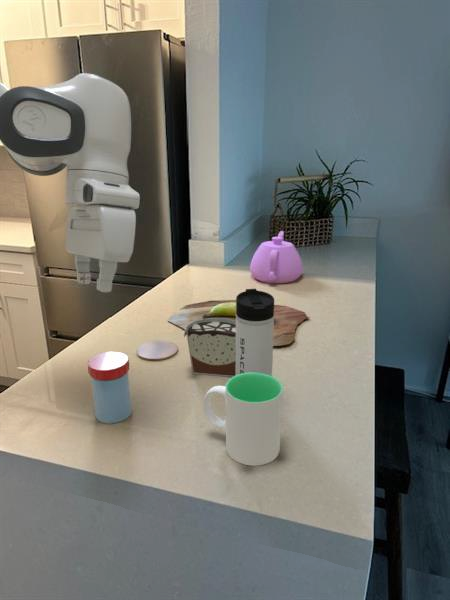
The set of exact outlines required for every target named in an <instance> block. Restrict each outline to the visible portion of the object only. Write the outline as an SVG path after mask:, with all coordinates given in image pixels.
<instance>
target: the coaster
mask: <svg viewBox="0 0 450 600" xmlns="http://www.w3.org/2000/svg"><path fill="white" fill-rule="evenodd" d="M178 352H179V347H178V345H177V344H176V343H174V342H172V341H170V340H152V341H151V340H150V341H147V342H144V343H142V344H140V345H139V346H138V347H137V349H136V355H137V357H138V358H140V359H142V360H144V361H149V362H160V361H165V360H168V359H171V358H173V357H174V356H176V355H177V354H178Z"/></svg>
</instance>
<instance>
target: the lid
mask: <svg viewBox="0 0 450 600" xmlns="http://www.w3.org/2000/svg"><path fill="white" fill-rule="evenodd" d="M87 371H88V374H89V377H90V378H91V377H92V378H94V379H97V380H112V379H116V378H119V377H121V376H123V375H125V374H126V373H127V372H128V373H129V371H130V360H129V357H128V355H127V354H126V353H123V352H120V351H106V352H100V353H98V354H95V355H94V356H92V357H91V358H90V359H89V360H88V361H87Z"/></svg>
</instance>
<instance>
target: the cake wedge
mask: <svg viewBox="0 0 450 600" xmlns="http://www.w3.org/2000/svg"><path fill="white" fill-rule="evenodd" d="M183 337H184V338H185V337H186V340H187V345H188V346H187V347H188V353H189V358H190V365H191V372H192V374H193V375H204V376H213V377H214V376H215V377H227V378H232V377H234V376H236V321H234V320H231V319H225V318H206V319H201V320H197V321H194V322H192V323H190V324H189V325H188V326H187V327H186V330H185V329H184V333H183Z"/></svg>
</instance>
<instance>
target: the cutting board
mask: <svg viewBox="0 0 450 600" xmlns="http://www.w3.org/2000/svg"><path fill="white" fill-rule="evenodd" d="M236 310H237V309H236V299H223V300H222V299H221V300H206V301H201V302H196V303H191V304H186V305H184V306H183V307H181V308H179V309H178V310H177V311H175V312H174V313H173V314H172V315H171V316H170V317H169V318H168V319H167V321H168V322H170V323H172V324H174V325H175V326H177V327H180V328H181V329H184V331H185V330H186V327H187V326H188V325H189V324H190V323H192V322H194V321H197V320H201V319H206V318H225V319H231V320H234V321H236ZM307 319H311V317H310V316H308V315H307V314H306V312H305V311H303V310H300V309H296V308H294V307H291V306H288V305H280V304H274V333H273V347H281V346H287V345H290V344H291V343H293V341H295V335H296V334H295V333H296V329H297V327H298V325H299V324H301V323H302V322H304V321H305V320H307Z"/></svg>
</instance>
